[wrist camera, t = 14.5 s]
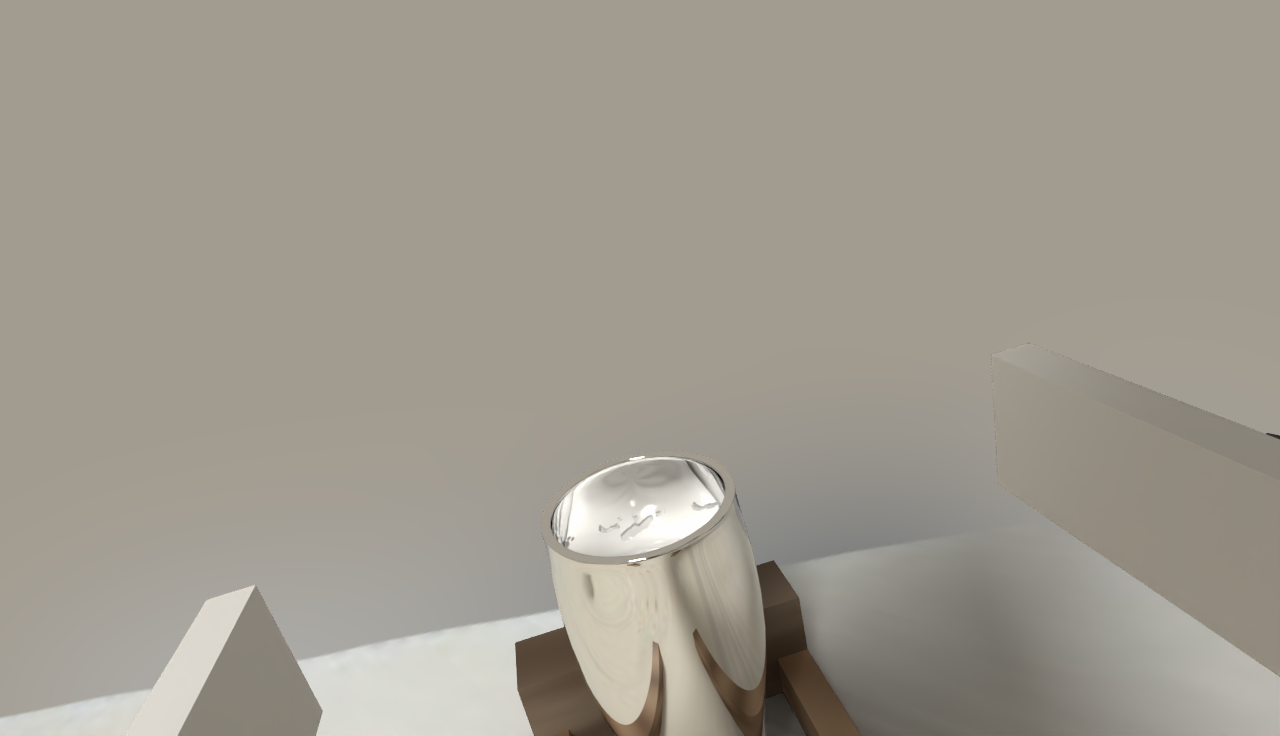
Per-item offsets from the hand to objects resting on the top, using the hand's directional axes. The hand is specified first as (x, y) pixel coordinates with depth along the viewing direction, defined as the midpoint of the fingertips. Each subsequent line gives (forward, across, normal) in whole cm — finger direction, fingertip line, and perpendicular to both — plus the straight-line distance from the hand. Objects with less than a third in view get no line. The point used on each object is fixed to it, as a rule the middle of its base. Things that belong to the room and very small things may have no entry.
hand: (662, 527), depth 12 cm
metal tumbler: (+10, 0, -20) cm, 22 cm away
